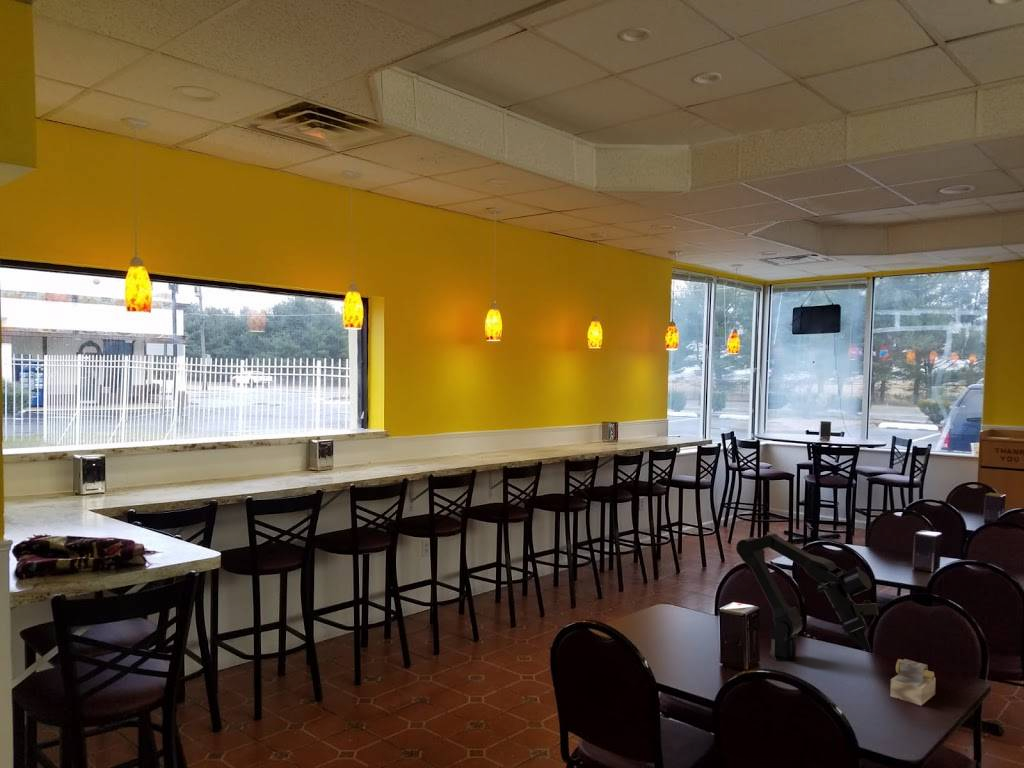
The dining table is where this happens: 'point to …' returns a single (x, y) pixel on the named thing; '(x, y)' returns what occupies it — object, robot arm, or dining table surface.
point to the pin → (925, 672)
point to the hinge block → (912, 683)
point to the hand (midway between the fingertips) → (869, 652)
